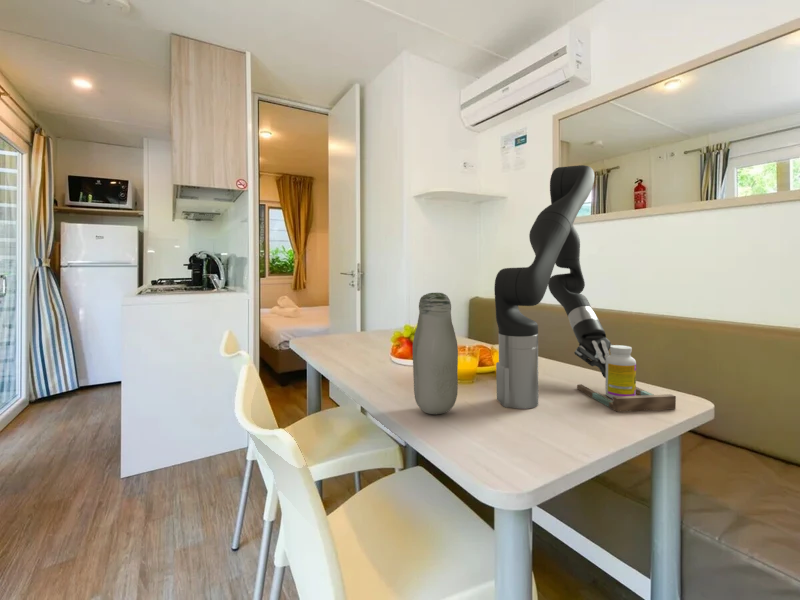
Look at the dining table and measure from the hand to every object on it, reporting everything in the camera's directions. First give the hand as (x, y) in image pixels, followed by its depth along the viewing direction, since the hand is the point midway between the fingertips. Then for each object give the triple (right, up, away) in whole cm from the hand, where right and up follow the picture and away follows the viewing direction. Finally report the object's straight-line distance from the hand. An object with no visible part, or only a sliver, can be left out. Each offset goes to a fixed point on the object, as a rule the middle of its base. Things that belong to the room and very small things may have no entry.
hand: (611, 378), depth 100 cm
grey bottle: (-47, -6, -11) cm, 48 cm away
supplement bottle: (0, -4, -4) cm, 6 cm away
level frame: (0, -4, -5) cm, 6 cm away
